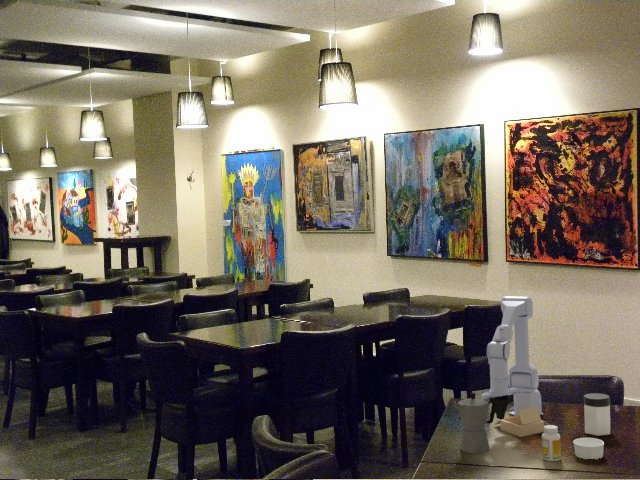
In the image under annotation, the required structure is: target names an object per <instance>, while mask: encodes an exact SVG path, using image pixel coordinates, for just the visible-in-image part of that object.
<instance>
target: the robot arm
mask: <svg viewBox="0 0 640 480" xmlns="http://www.w3.org/2000/svg"><path fill="white" fill-rule="evenodd" d="M533 308H534V306H533V300H532V298H531V296H508V295H504V296H502V298H501V301H500V309H501V312H502V319H501V324H500V325H498V326H497V327H496V329H495V332H494V335H493V338H492V339H491V340H492V341H490V342H488V344H487V346H486V357H487V361H488V362H487V363H488V365H489V375H490V376H489V377H490V378H489V379H490V382H489V383H490V389H489V390H488V391H485V392H484V393H481V394H480V399H483V398H490V397H493V398H494V399H495V400H496V401H497V407H496V411H495V416H496V419H500V420H502V419H504V418H506V412H507V408H508V407H509V404H510V402H511V397H510V396H511V395H513V411H510V412H508V414H509V415H512V416H518V415H519V413H518V410H519V409H524V408H529V407H534V406H537V409H538V412H539V415H540V416H541V415H544V413H543V412H542V409H543V408H542V394H541V393H540V390H538V388H539V383H540V382H539V381H540V379H539V373H538V369H537V367H536V366H535V365H533V364H532V363H530V354H529V353H530V350H529V348H530V347H529V319H531V318H533V315H534V311H533V310H534V309H533ZM513 327H514V328H513ZM512 328H513V329H514V330H513V329H512ZM513 335H514V354H515V355H514V357H515V358H514V359H515V363H514V364H513V365H511V366H510V367H508V364H509V363H508V360H509V357H510V354H511V352H510V351H511V342H512V340H513ZM508 368H509V369H508Z"/></svg>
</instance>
